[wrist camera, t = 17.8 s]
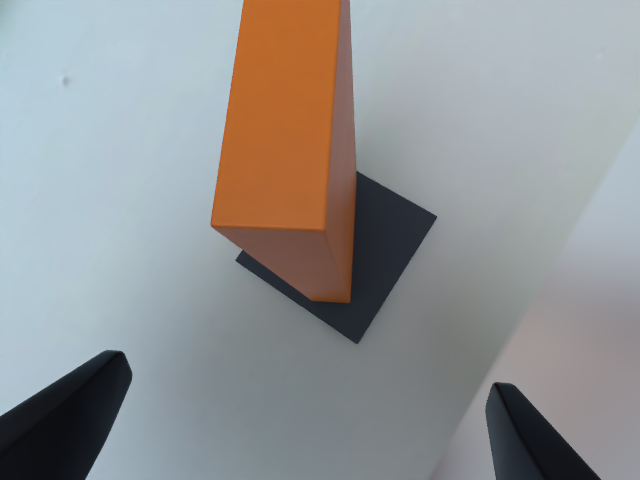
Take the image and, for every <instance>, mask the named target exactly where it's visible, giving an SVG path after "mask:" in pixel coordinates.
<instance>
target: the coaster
mask: <svg viewBox="0 0 640 480" xmlns="http://www.w3.org/2000/svg"><path fill="white" fill-rule="evenodd" d="M356 180H357V183H356V203H355V222H354V242H353V261H352V281H351V301H350V303H337V302H321V301H312V300H310V299H309V298H307V297H306V296H305V295H303V294H302V293H301V292H299V291H298V290H297V289H295V288H294V287H292V286H291V285H290V284H288V283H287V282H286V281H284V280H283V279H282V278H280V277H279V276H278V275H276V274H275V273H273V272H272V271H271V270H269V269H268V268H267V267H265V266H264V265H263V264H261V263H260V262H259V261H257V260H256V259H254V258H253V257H252V256H250V255H249V254H248V253H246V252H245V251H244V250H242V252H241V253H240V254H239V256H238V257H237V259H236V261H237V262H238V263H240V264H241V265H242V266H244V267H245V268H247V269H248V270H250V271H251V272H253V273H254V274H256V275H257V276H258V277H260V278H261V279H263V280H264V281H266V282H267V283H269V284H270V285H272V286H273V287H275V288H276V289H277V290H279V291H280V292H282V293H283V294H285V295H286V296H288V297H289V298H291V299H292V300H293V301H295V302H296V303H298V304H299V305H301V306H302V307H304V308H305V309H307V310H308V311H309V312H311V313H312V314H314V315H315V316H317V317H318V318H320V319H321V320H323V321H324V322H325V323H327V324H328V325H330V326H331V327H333V328H334V329H336V330H337V331H339V332H340V333H341V334H343V335H344V336H346V337H347V338H349V339H350V340H352V341H353V342H355V343H356V344H357V343H358V342H359V341H360V339H361V337H362V336H363V334H364V333H365V331H366V329H367V328H368V326H369V325H370V323H371V322H372V320H373V318H374V317H375V315H376V314H377V312H378V310H379V309H380V307H381V306H382V304H383V302H384V301H385V299H386V298H387V296H388V294H389V293H390V291H391V290H392V288H393V287H394V285H395V283H396V282H397V280H398V279H399V277H400V275H401V274H402V272H403V271H404V269H405V267H406V266H407V264H408V263H409V261H410V260H411V258H412V256H413V255H414V253H415V252H416V250H417V248H418V247H419V245H420V244H421V242H422V240H423V239H424V237H425V236H426V234H427V233H428V231H429V229H430V228H431V226H432V225H433V223H434V221H435V220H436V218H437V216H435V215H434V214H432V213H430V212H428V211H427V210H425V209H423V208H421V207H419V206H418V205H416V204H414V203H412V202H411V201H409V200H407V199H405V198H403V197H402V196H400V195H398V194H396V193H395V192H393V191H391V190H389V189H387V188H386V187H384V186H382V185H380V184H379V183H377V182H375V181H373V180H371V179H370V178H368V177H366V176H364V175H363V174H361V173H359V172H357V171H356Z"/></svg>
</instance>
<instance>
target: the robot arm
mask: <svg viewBox="0 0 640 480" xmlns="http://www.w3.org/2000/svg"><path fill="white" fill-rule="evenodd" d="M131 381H132V371H131V368H130V366H129V363H128V361H127V359H126V356H125V354H124V353H123V352H122V351H116V350H106V351H104V352H102V353H100V354H99V355H97V356H95V357H94V358H92V359H91V360H89V361H87V362H86V363H84V364H83V365H81V366H79V367H78V368H76V369H75V370H73V371H72V372H70V373H68V374H67V375H65V376H64V377H62V378H60V379H59V380H57V381H56V382H54V383H52V384H51V385H49V386H48V387H46V388H44V389H43V390H41V391H40V392H38V393H37V394H35V395H33V396H32V397H30V398H29V399H27V400H25V401H24V402H22V403H21V404H19V405H17V406H16V407H14V408H13V409H11V410H10V411H8V412H6V413H5V414H3V415H2V416H0V480H85V479H86V477H87V475H88V473H89V472H90V470H91V468H92V466H93V464H94V462H95V460H96V459H97V457H98V455H99V453H100V451H101V449H102V447H103V445H104V443H105V441H106V439H107V437H108V435H109V433H110V431H111V428H112V426H113V424H114V421H115V419H116V417H117V414H118V412H119V410H120V407H121V405H122V402H123V400H124V398H125V395H126V393H127V391H128V388H129V386H130V384H131ZM486 420H487V426H488V432H489V439H490V445H491V451H492V456H493V463H494V469H495V476H496V480H601V479H600V478H599V477H598V476H597V474H596V473H595V472H594V471H593V470H592V469H591V468H590V467H589V466H588V465H587V464H586V463H585V461H584V460H583V459H582V458H581V457H580V456H579V455H578V454H577V453H576V452H575V451H574V450H573V448H572V447H571V446H570V445H569V444H568V443H567V442H566V441H565V440H564V439H563V437H562V436H561V435H560V434H559V433H558V432H557V431H556V430H555V429H554V428H553V427H552V425H551V424H550V423H549V422H548V421H547V420H546V419H545V418H544V417H543V416H542V415H541V413H540V412H539V411H538V410H537V409H536V408H535V407H534V406H533V405H532V404H531V403H530V401H529V400H528V399H527V398H526V397H525V396H524V395H523V394H522V393H521V392H520V391H519V389H517V387H516V386H514V385H513V384H510V383H500V382H495V383H493V385H492V387H491V390H490V394H489V397H488V400H487V403H486Z"/></svg>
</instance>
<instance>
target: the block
mask: <svg viewBox="0 0 640 480" xmlns="http://www.w3.org/2000/svg"><path fill="white" fill-rule="evenodd" d="M356 183H357V180H356V154H355V128H354V102H353V75H352V49H351V23H350V0H244V2H243V9H242V15H241V22H240V29H239V36H238V42H237V49H236V56H235V62H234V69H233V76H232V83H231V89H230V96H229V103H228V109H227V116H226V123H225V130H224V136H223V143H222V150H221V156H220V163H219V170H218V176H217V183H216V190H215V197H214V203H213V210H212V217H211V227H212V228H214V229H215V230H216V231H218V232H219V233H220V234H222V235H223V236H225V237H226V238H227V239H229V240H230V241H231V242H233V243H234V244H235V245H237V246H238V247H239V248H241V249H242V250H244V251H245V252H246V253H248V254H249V255H250V256H252V257H253V258H254V259H256V260H257V261H259V262H260V263H261V264H263V265H264V266H265V267H267V268H268V269H269V270H271V271H272V272H273V273H275V274H276V275H278V276H279V277H280V278H282V279H283V280H284V281H286V282H287V283H288V284H290V285H291V286H292V287H294V288H295V289H297V290H298V291H299V292H301V293H302V294H303V295H305V296H306V297H307V298H309V299H310V300H312V301H321V302H337V303H350V301H351V281H352V261H353V242H354V222H355V203H356Z"/></svg>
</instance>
